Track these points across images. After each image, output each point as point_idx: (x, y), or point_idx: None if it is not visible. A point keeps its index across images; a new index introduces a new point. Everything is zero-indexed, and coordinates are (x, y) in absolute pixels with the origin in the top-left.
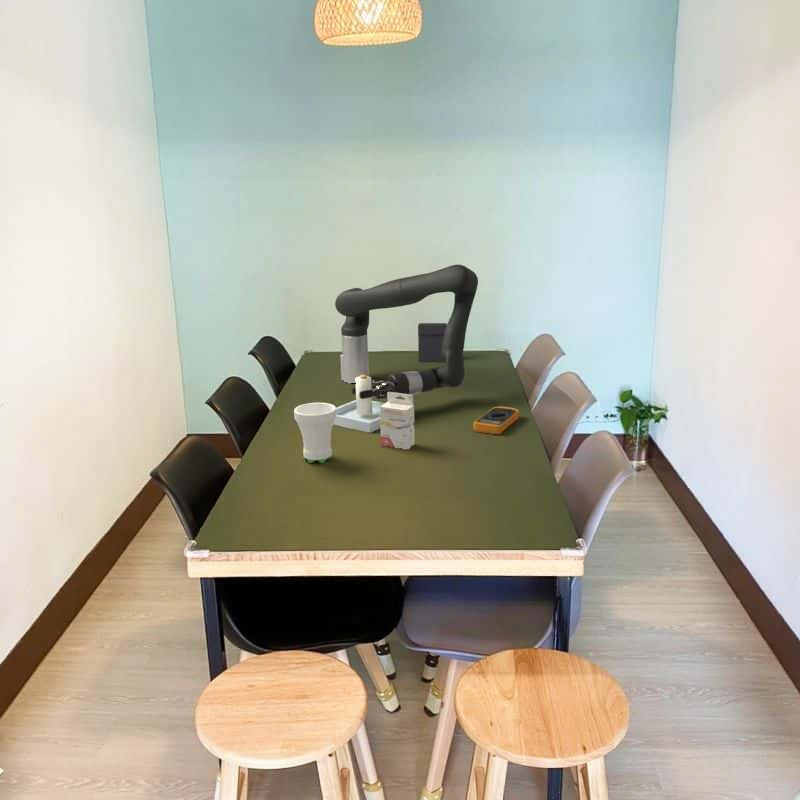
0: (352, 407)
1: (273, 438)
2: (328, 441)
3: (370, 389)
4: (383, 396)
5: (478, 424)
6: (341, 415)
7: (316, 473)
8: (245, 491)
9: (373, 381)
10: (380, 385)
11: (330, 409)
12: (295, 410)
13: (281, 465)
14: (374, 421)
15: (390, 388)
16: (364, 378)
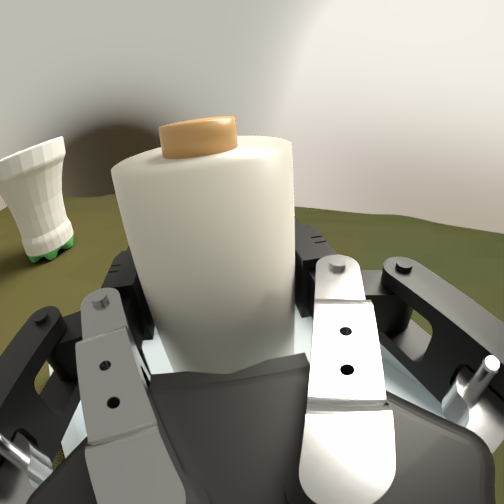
0: (401, 366)
1: None
2: (16, 223)
3: (144, 290)
4: (47, 403)
5: None
6: (301, 321)
7: (20, 245)
8: None
9: (483, 359)
10: (116, 375)
11: (10, 167)
12: (49, 140)
13: (80, 220)
14: (50, 367)
15: (34, 494)
16: (163, 150)
